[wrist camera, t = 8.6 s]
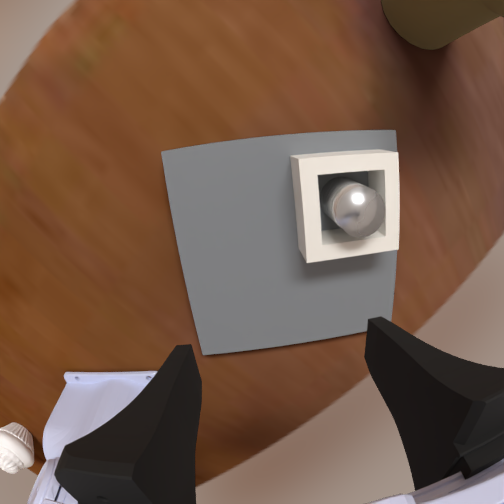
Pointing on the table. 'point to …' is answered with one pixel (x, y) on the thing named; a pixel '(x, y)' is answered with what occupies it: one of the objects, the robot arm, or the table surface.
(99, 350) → the table surface
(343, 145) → the board
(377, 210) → the post
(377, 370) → the robot arm
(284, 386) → the table surface
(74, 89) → the table surface
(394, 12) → the cork
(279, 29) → the table surface
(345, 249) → the collar
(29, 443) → the white rounded jar shape
